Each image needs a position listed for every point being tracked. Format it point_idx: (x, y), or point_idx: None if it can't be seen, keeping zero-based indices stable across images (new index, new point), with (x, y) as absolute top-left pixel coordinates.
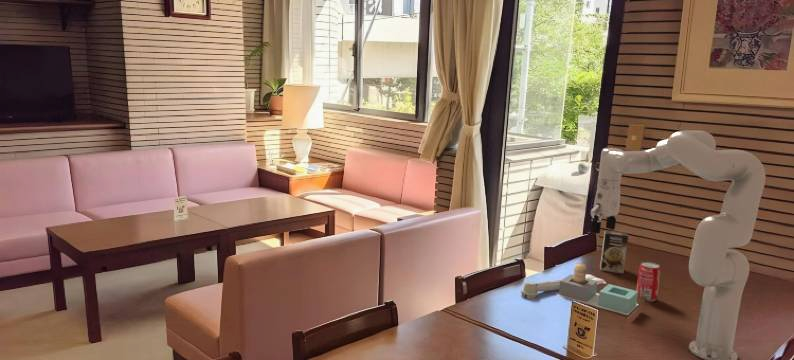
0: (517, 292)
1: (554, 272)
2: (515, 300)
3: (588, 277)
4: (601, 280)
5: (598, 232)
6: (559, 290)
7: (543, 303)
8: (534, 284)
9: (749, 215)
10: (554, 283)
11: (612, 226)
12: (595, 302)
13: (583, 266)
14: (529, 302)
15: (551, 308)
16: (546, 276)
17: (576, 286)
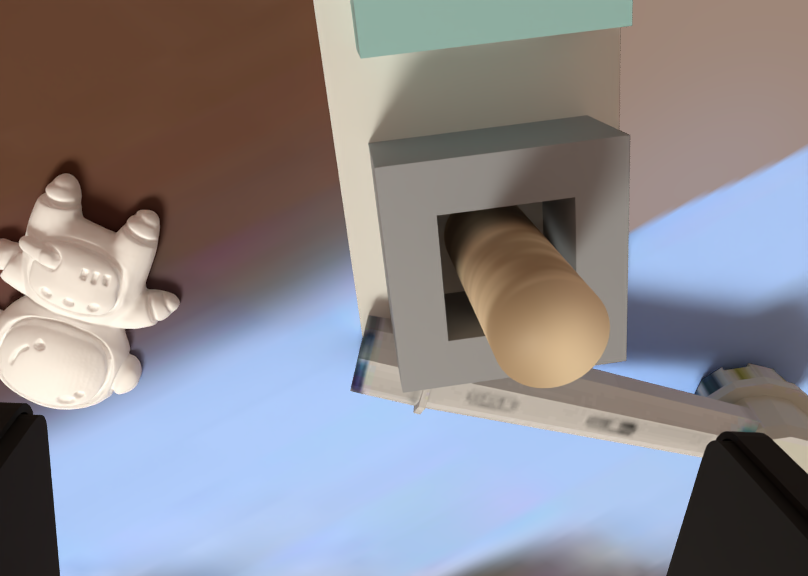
0: (667, 491)
1: (141, 556)
2: None
3: (84, 351)
4: (63, 249)
5: (764, 453)
6: None
7: (729, 314)
8: (793, 435)
9: None
10: (574, 393)
11: (12, 488)
12: (545, 61)
13: (576, 297)
14: None
15: (776, 241)
16: (263, 543)
17: (624, 229)
